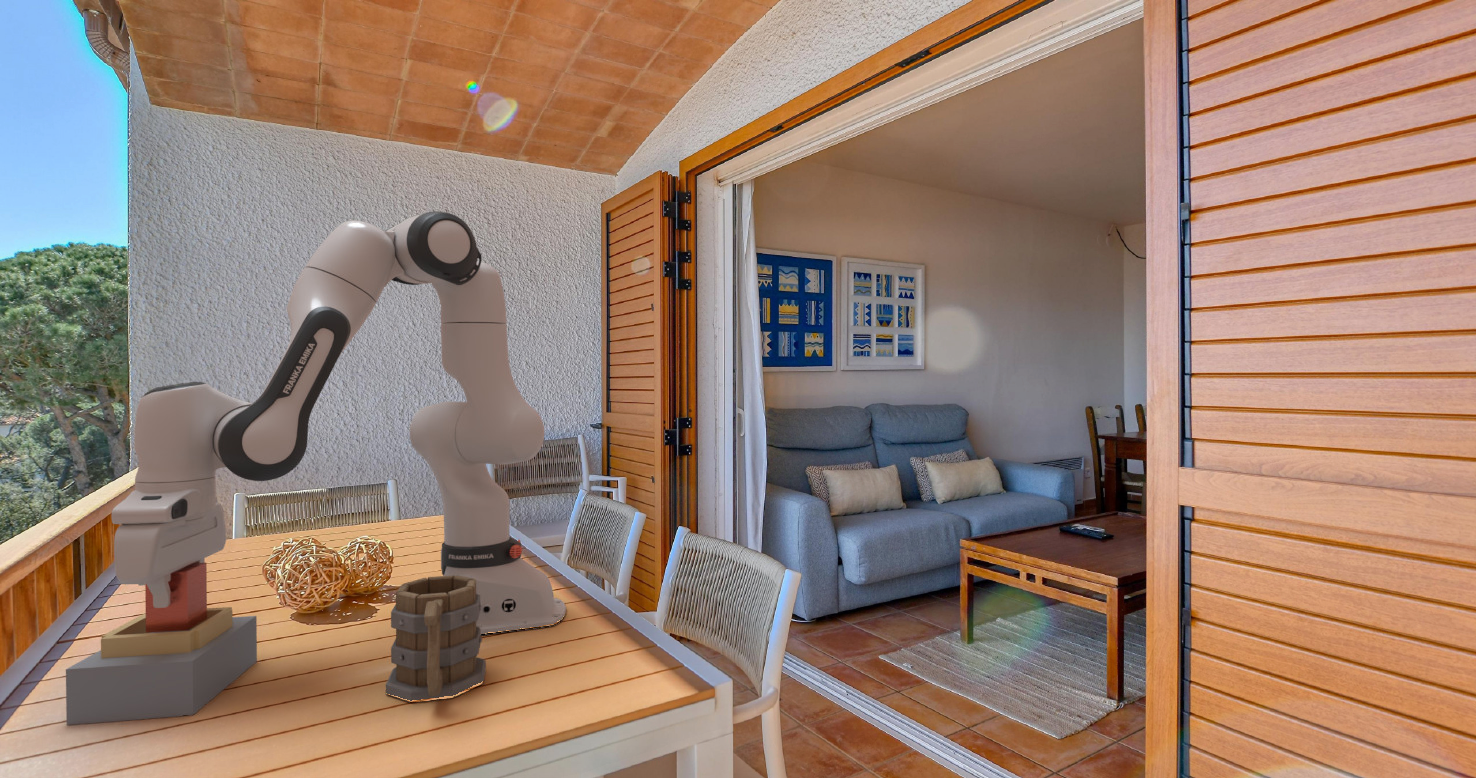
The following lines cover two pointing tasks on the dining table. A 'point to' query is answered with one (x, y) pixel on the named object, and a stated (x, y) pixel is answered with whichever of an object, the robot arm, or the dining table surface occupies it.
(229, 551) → the dining table surface
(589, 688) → the dining table surface
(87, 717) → the grey box
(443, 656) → the tankard
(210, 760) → the dining table surface
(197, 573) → the red rectangular block
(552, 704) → the dining table surface
